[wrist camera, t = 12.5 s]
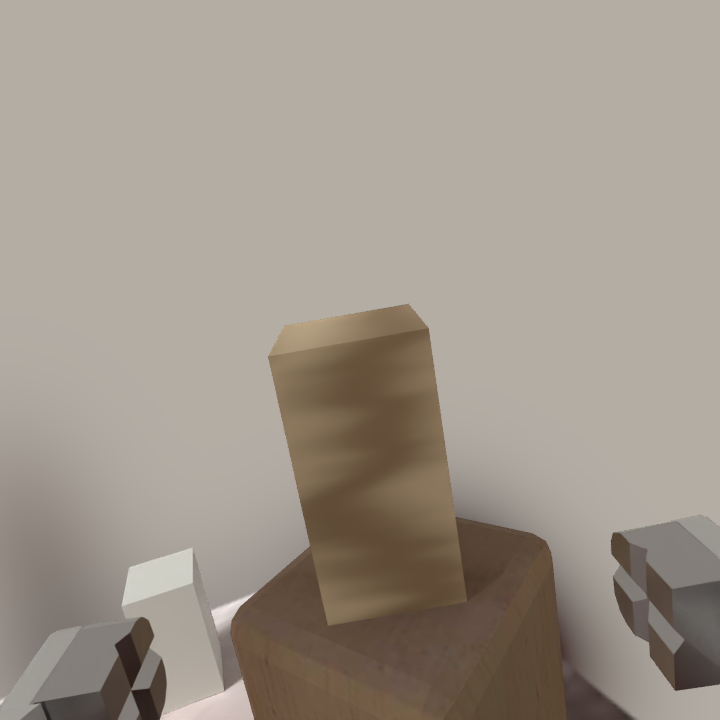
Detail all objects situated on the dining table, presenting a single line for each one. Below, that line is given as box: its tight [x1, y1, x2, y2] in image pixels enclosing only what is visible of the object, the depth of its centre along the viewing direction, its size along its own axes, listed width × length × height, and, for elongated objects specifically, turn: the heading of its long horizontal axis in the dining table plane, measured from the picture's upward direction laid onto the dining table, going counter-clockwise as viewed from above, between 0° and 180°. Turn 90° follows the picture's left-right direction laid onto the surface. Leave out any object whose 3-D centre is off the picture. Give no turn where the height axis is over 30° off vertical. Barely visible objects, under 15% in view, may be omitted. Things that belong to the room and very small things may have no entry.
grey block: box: [122, 548, 224, 715], centre depth 43 cm, size 5×5×10 cm
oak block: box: [268, 304, 467, 626], centre depth 20 cm, size 5×5×10 cm
